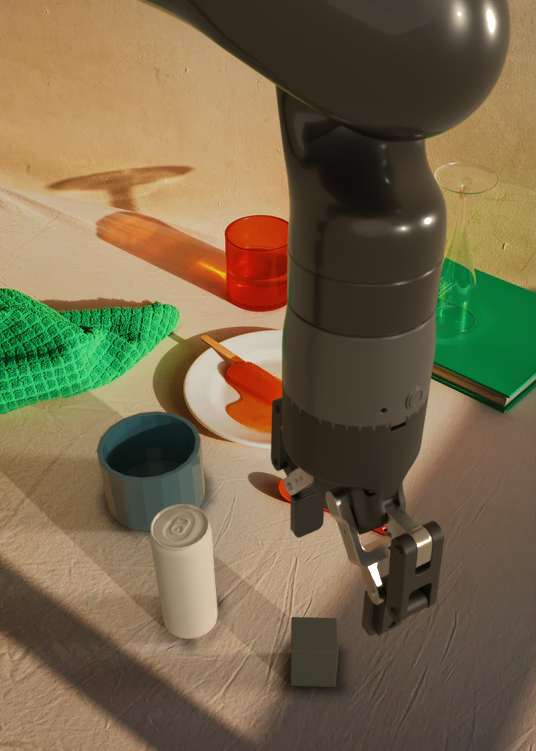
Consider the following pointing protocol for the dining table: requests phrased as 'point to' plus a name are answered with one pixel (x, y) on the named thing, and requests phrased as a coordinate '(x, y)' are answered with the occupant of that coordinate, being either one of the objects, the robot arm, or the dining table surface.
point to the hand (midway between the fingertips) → (340, 575)
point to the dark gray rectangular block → (314, 651)
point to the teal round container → (150, 466)
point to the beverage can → (185, 570)
